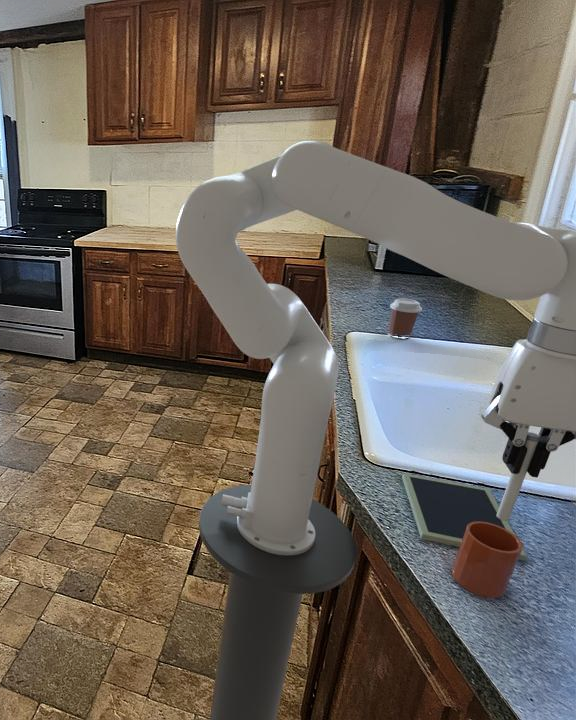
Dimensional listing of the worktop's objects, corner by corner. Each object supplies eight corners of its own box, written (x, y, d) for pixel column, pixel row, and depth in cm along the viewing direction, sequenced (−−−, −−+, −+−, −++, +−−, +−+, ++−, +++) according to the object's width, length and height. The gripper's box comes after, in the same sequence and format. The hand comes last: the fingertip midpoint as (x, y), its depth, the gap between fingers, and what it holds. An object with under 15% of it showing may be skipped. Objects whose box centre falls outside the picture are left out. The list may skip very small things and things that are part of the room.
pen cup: (458, 591, 75) (474, 546, 72) (446, 559, 80) (461, 517, 77) (511, 603, 73) (530, 558, 70) (496, 570, 78) (512, 527, 75)
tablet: (420, 539, 84) (422, 533, 84) (401, 477, 100) (402, 472, 100) (524, 561, 80) (527, 555, 80) (487, 493, 96) (489, 488, 95)
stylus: (498, 519, 72) (528, 436, 67) (494, 513, 73) (524, 431, 68) (510, 521, 71) (541, 438, 66) (506, 515, 72) (537, 433, 68)
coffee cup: (392, 340, 170) (401, 305, 166) (378, 331, 179) (385, 297, 174) (420, 341, 171) (429, 305, 166) (404, 331, 179) (413, 297, 174)
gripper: (633, 336, 63) (579, 466, 70) (482, 321, 68) (445, 445, 75) (672, 358, 57) (608, 499, 63) (501, 340, 61) (459, 473, 68)
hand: (520, 469), depth 69 cm, fingers closed on stylus, 1 cm apart
